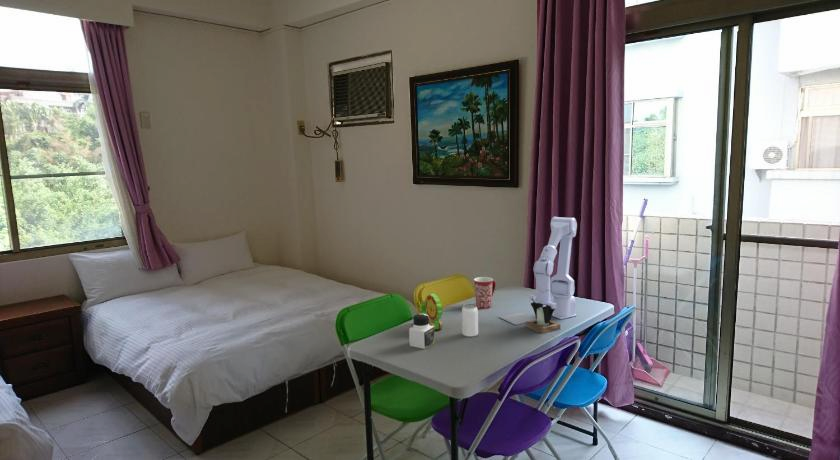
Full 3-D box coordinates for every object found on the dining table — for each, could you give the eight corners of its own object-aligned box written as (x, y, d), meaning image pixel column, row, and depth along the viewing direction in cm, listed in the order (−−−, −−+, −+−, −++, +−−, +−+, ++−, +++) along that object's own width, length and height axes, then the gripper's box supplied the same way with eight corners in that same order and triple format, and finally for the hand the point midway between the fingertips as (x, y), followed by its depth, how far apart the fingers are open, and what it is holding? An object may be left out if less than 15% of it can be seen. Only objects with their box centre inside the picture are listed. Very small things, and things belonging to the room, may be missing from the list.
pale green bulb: (543, 324, 220) (543, 306, 219) (551, 328, 216) (551, 309, 214) (534, 327, 218) (534, 308, 217) (542, 330, 213) (542, 311, 212)
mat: (521, 313, 236) (521, 312, 236) (538, 320, 226) (538, 319, 226) (499, 317, 231) (499, 316, 231) (515, 325, 220) (515, 324, 220)
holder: (544, 322, 223) (544, 317, 223) (560, 329, 215) (560, 324, 214) (525, 326, 219) (525, 321, 219) (541, 333, 210) (541, 328, 210)
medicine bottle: (425, 349, 197) (424, 319, 196) (409, 346, 201) (408, 316, 199) (434, 343, 203) (433, 313, 202) (419, 340, 207) (418, 311, 205)
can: (479, 332, 214) (479, 304, 212) (476, 337, 208) (475, 308, 206) (464, 331, 216) (463, 303, 214) (460, 336, 210) (459, 307, 208)
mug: (484, 310, 242) (484, 282, 240) (470, 306, 249) (469, 279, 247) (502, 304, 250) (502, 277, 248) (488, 301, 257) (487, 274, 255)
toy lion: (417, 323, 227) (416, 289, 225) (428, 321, 230) (427, 288, 227) (434, 334, 213) (433, 298, 211) (446, 331, 216) (445, 296, 213)
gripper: (524, 286, 219) (524, 317, 221) (547, 294, 206) (546, 327, 208) (537, 284, 222) (537, 315, 224) (560, 292, 209) (560, 324, 211)
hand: (542, 320), depth 216 cm, fingers closed on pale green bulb, 5 cm apart
